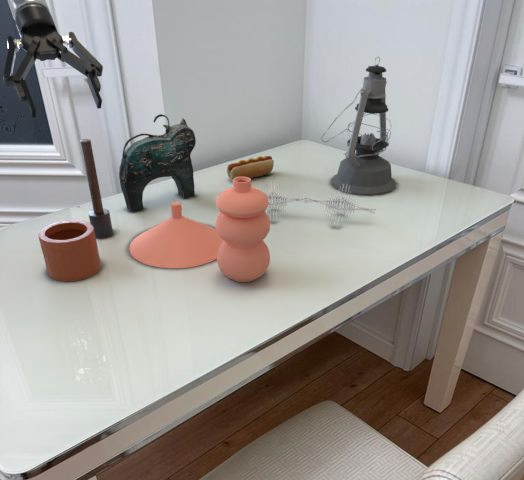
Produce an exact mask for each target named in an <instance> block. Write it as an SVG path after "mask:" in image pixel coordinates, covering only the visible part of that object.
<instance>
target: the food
mask: <svg viewBox="0 0 524 480" xmlns="http://www.w3.org/2000/svg"><path fill="white" fill-rule="evenodd" d="M274 163H275V161H274V159H273V157H272V156H271V155H264V156H262V155H260V156H257V157H255V158H254V157H251V158H247V160H246V159H240V160H238V161H236V162H234V163H230V164H227V165H226V174H227V176H228V179H229V180H231V181H233V179H234V178H236V177H249V178H250V179H255V178H257V177H262V176H265V175H269V174H270V173H272V171H273V169H274Z"/></svg>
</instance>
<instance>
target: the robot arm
mask: <svg viewBox="0 0 524 480" xmlns="http://www.w3.org/2000/svg"><path fill="white" fill-rule="evenodd" d="M6 2H7V5H8V6H9V7H8V8H9V9H10V12H11V15H12V18H13V20H14V22H15V25H16V28H17V32H18V34H19V36H20V39H16V38H15V39H14V36H11V35H8V36H7V37H6V42H7V53H6V57H5V64H4V67H3V68H4V69H3V74H2V77H3V78H2V79H3V85H4V86H5V87H10V86H11V87H13V88H14V90H15V91H16V94H17V96H18V98H19V99H18V100H20V101H21V102H25V103H26V105H27V107H28V110H29V113H30V115H31V118H37V109H36V108H37V107H36V106H35V103H34V100H33V98H32V95H31V93H30V90H29V87H28V85H27V82H26V77H27V75H28V74H29V72H30V70H31V68H32V66H33V65H34V64H35V62H36V61H37V60H38V61H40V62H45V61H47V60H48V61H55V60H56V59H57V60H59V61H60V62H62V63H66V64H67V65H69V66H70V67H71V68H73V69H75V70H76V71H78V73H80V74H82V75H84V76H85V77H86V82H87V85H88V88H89V91H90V93H91V96H92V99H93V101H94V103H95V106H96V109H102V105H103V99H102V96H101V94H100V92H101V89H102V85H101V82H100V79H99V77H102V76H103V69H104V66H103V64H102V63H101V62H100V61H98V59H97V58H96V57H95V56H94V55H93V54H92V53H91V52H90V51H89V50H88V49H87V48H86V47H85V46H84V45H83V44H82V43H81V42H80V41H79V40H78V38H77V36H76V35H75V33H74V32H73V31H69V32H68V35H60V33H59V31H58V29H57V26H56V23H55V21H54V19H53V16H52V14H51V11H50V8H49V5H48V2H47V0H6ZM67 47H68V48H67ZM20 48H22V49H23V50H24V51H26V53H25V55H24V57H23V58H22V60H21V62H20V64H19V66H18V68H17V70H16V71H15V74H14V75H13V73H14V67H15V64H16V63H15V61H16V53H18V52H19V51H20ZM69 49H71V50H72V51H73V52H72V51H70V50H69Z"/></svg>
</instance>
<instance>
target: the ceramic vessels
mask: <svg viewBox="0 0 524 480" xmlns="http://www.w3.org/2000/svg"><path fill="white" fill-rule="evenodd" d="M267 196H268V195H266V192H264V191H263V190H262V189H261V190H260V188H256V187H253V186H252V178H249V177H236V178H234V179H233V180H232V187H229V188H226V189H224V190H223V191H222V192H220V193H219V194H218V196H217V197H216V202H215V206H216V208H217V209H218V211H219V213H218V215H217V216H216V219H215V225H214V226H215V227H211V226H210V225H207V224H204V223H202V222H200V221H196V220H193V219H191V218H189V217H186V216H184V215H183V213H182V210H183V207H182V203H181V202H180V201H172V202H171V203H170V212H171V216H170V217H169V218H167V219H165V220H163V221H161V222H159V223H157V224H156V225H154V226H153V227H150V228H149V229H147V230H146V231H144V232H142V233H140V234H138V235H137V236H135V237H134V238H133V240H132V241H131V242H130V245H129V246H128V251H129V253H130V255H131V257H133V259H135V260H136V261H138V262H140V263H142V264H144V265H146V266H149V267H150V266H151V267H155V268H161V269H186V268H194V267H200V266H202V265H206V264H209V263H211V262H213V261H215V260H216V262H217V267H218V268H219V270H220V272H221V273H222V274H223V275H225V276H226V277H227V278H229V279H231V280H233V281H235V282H238V283H251V282H253V281H255V280H257V279H258V278H260V277H262V276H263V275H264V274H265V273H266V271H268V269H269V267H270V262H271V253H270V250H269V247H268V245H267V244H266V242H265V241H264V240H265V239H266V238H267V236H268V234H269V232H270V230H271V218H270V216H269V214H268V215H267V212H266V213H265V210H266V211H267V209H268V208H269V203H270V200H269V199H268V197H267Z"/></svg>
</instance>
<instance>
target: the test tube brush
mask: <svg viewBox="0 0 524 480" xmlns="http://www.w3.org/2000/svg"><path fill="white" fill-rule="evenodd" d="M272 184H273V179H271V180H270V184H267V185H268V188H267V185H266V186H265V194H266V195H267V197H268V201H269V205H268V208H269V211H267V209H266V210H265V213H266V214H267V215H268V216H269V219H271V217H272V223H273V224H274V221H275V219H277V216H278V217H279V218H280V214H278V210H280V209H281V210H280V211H282V212H284V209H285V213H286V211H287V207H286V206H288V204H287V203H291V202H292V203H293V202H303V203H318V204H322V205H324V206H325V210H324V211H325V212H326V213H328V214H326V213H324V214H323V215H324V216H325V215H326V217H327V218H329V216H330V218H329V220H331V225H333V228H335V223H336V220H338V221H337V224H336V227H339V226H340V227H341V226H342V224H344V222H347V221H348V219H350V218H351V220H352V217H351V216H353V214H354V212H355V211H365V212H368V213H370V214H374V215H375V214H376V211H377V208H366V207H363V206H360V205H358V204H356V200H355V198H351V199H350V197H355V196H356V195H355V194H351V192H350V193H346V190H345V192H344V196H342V194H343V192H342V191H343V188H342V191H340V189H339V190H338V189H336V193H335V190H334V192H333V193H331V195H330V193H328V195H330V196H332V197H334V196H335V197H334V198H332V197H330V196H328V199H314V198H311V197H308V196H305V197H304V196H303V197H299V198H296V197H295V198H294V197H289V196H285V195H282V194H280V193H281V185H278V184H279V182H278V181H277V183H276V182H274V187H273V185H272ZM272 187H273V189H272ZM278 187H279V189H278ZM340 187H341V186H340ZM343 187H344V184H343ZM346 188H347V186H346ZM349 188H350V186H349ZM272 190H273V191H272ZM267 191H268V192H267ZM270 191H271V192H270ZM276 191H278V194H277V192H276ZM340 192H341V193H340ZM348 192H349V190H348ZM337 193H338V194H337ZM346 194H347V195H346ZM339 195H340V196H339ZM345 196H346V198H345ZM348 197H349V198H348ZM329 198H330V199H329ZM352 200H353V201H352ZM354 200H355V201H354ZM274 208H275V209H274ZM282 208H283V209H282ZM327 209H328V210H329V212H328V210H327ZM326 210H327V211H326ZM271 212H272V214H273V215H272V214H271ZM330 212H331V214H330ZM333 213H335V214H333ZM277 214H278V215H277ZM347 214H349V215H347ZM271 215H272V216H271ZM338 215H339V216H338ZM346 215H347V216H346ZM334 216H335V217H334ZM337 216H338V219H337ZM334 218H335V219H334ZM340 218H343V219H341V221H340ZM346 218H348V219H346ZM345 219H346V220H345ZM333 220H334V222H333ZM343 220H345V221H343ZM339 222H340V225H339ZM342 222H343V223H342Z"/></svg>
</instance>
